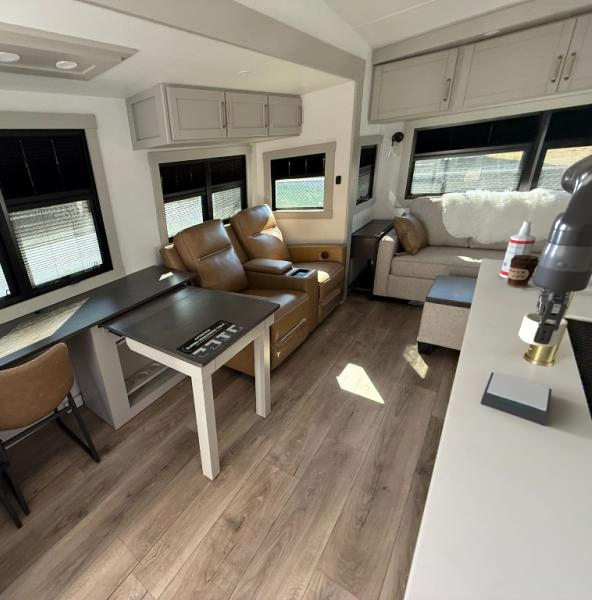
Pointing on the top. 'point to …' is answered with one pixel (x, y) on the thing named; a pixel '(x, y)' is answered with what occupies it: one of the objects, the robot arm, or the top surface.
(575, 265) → the robot arm
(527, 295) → the top surface
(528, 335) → the bowl
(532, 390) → the scale
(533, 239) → the spray bottle
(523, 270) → the coffee cup
